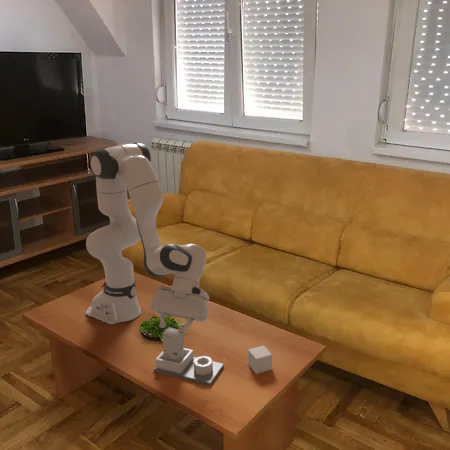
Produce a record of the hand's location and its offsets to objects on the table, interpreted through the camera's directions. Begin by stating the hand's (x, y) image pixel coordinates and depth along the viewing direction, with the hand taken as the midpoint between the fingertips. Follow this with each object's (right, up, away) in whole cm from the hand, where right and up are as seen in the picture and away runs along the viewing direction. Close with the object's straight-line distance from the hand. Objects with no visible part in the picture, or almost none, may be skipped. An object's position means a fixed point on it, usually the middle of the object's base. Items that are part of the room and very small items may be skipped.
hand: (172, 329), depth 170 cm
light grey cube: (+29, -14, +4) cm, 33 cm away
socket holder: (+5, -14, +4) cm, 16 cm away
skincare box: (0, -13, +5) cm, 14 cm away
